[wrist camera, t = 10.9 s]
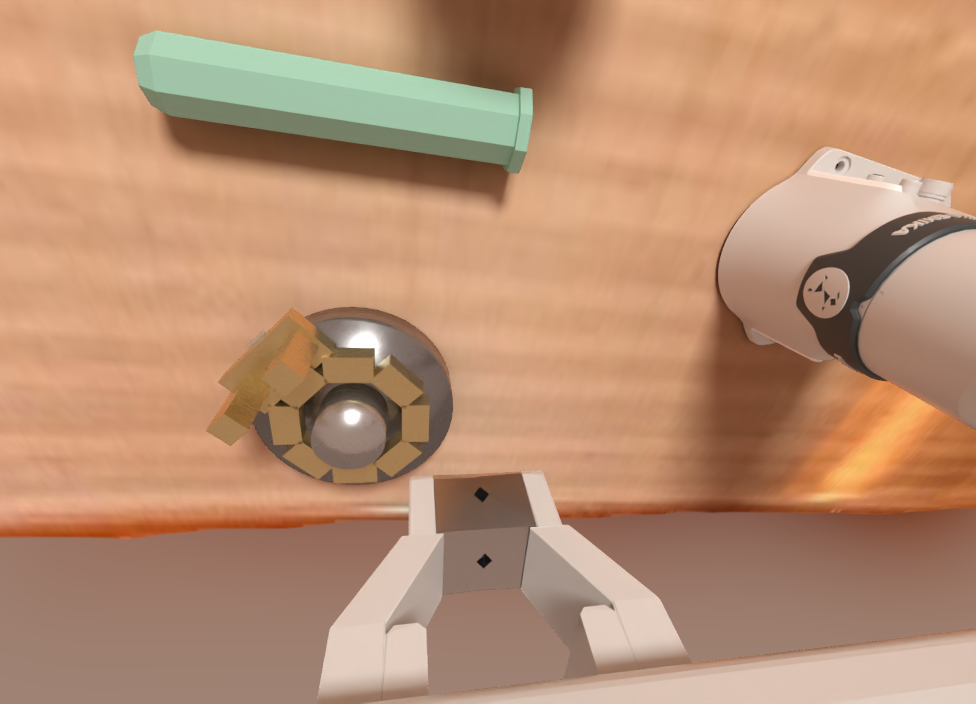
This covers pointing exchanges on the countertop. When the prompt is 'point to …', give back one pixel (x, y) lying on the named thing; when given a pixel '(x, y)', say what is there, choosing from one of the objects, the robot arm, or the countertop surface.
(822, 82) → the countertop surface
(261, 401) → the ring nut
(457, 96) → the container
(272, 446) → the grey round piece
